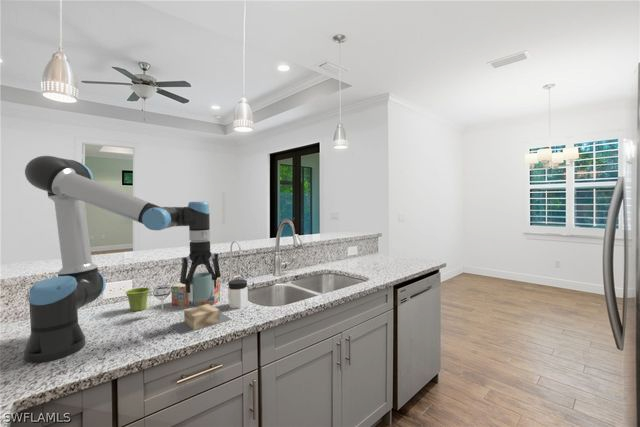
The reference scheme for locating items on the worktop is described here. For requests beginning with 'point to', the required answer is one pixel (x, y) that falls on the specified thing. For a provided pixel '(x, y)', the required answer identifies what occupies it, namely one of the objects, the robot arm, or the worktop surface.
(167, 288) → the wineglass
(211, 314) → the oak riser
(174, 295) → the stack of blocks
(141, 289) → the plant pot
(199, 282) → the cup
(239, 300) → the jar
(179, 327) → the base board
